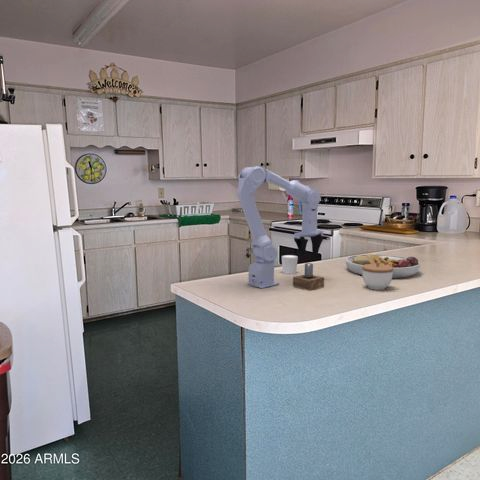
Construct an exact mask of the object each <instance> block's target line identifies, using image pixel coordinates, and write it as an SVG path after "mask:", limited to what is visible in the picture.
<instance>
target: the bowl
mask: <svg viewBox="0 0 480 480" xmlns="http://www.w3.org/2000/svg"><path fill="white" fill-rule="evenodd" d="M376 262H379V264H382V265H388V266H391V267H393V275H392V279H403V278H404V279H405V278H408V277H412V276H414V275H416V274H417V273H418V272H419V270H420V267H421V262H420V261H419V260H418V258H416V257H414V256H409V257H406V256H397V255H390V254H389V255H388V254H387V255H386V254H373V253H368V254H356V255H350V256H347V257H346V259H345V265H346V267H347V268H348V269H349V271H351V272H352V273H354V274H357V275H361V276H363V275H362V266H363V265H366V264H376Z"/></svg>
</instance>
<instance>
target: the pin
mask: <svg viewBox="0 0 480 480" xmlns="http://www.w3.org/2000/svg"><path fill="white" fill-rule="evenodd" d="M313 272H314V264H313V263H311V262H306V263H304V274H303V275H304V278H306V279H312V278H313V275H314V273H313Z"/></svg>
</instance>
